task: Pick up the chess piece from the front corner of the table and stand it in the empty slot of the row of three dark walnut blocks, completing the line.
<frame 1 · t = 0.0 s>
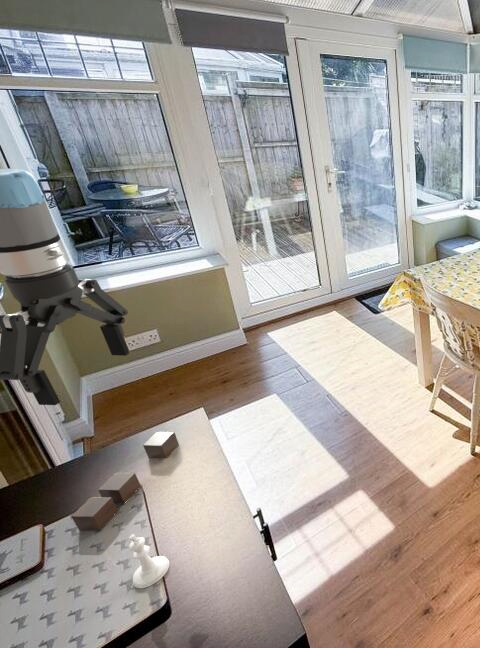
hand: (88, 377, 74), 29 cm above the table, tool pointing down, fingers open, 13 cm apart
chess piece: (152, 573, 72), on the table
walnut block 1: (99, 520, 79), on the table
walnut block 3: (164, 451, 95), on the table
walnut block 2: (123, 494, 84), on the table
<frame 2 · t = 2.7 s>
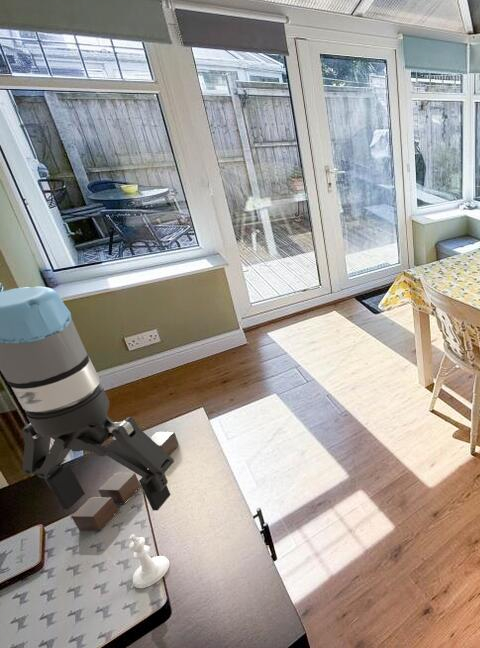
hand: (118, 502, 65), 17 cm above the table, tool pointing down, fingers open, 13 cm apart
nothing on the table moved.
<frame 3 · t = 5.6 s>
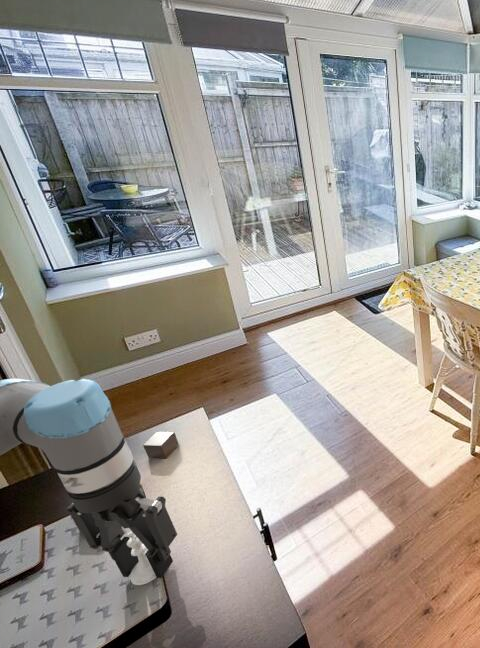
hand: (148, 568, 71), 1 cm above the table, tool pointing down, fingers closed on chess piece, 5 cm apart
chess piece: (149, 570, 71), on the table, touching gripper
everything else where it was.
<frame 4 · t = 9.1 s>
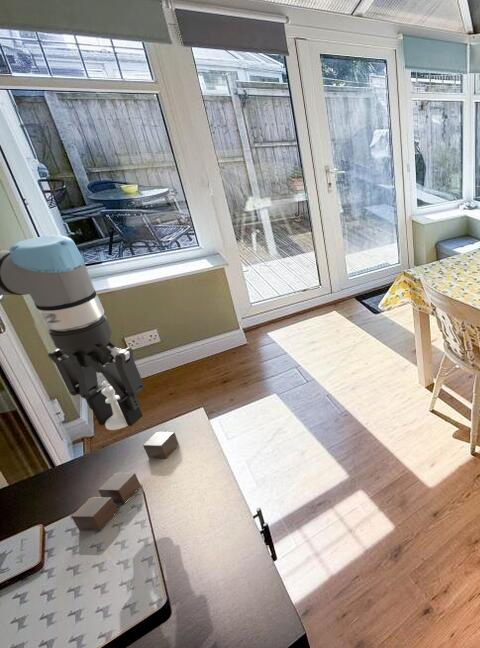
hand: (121, 420, 83), 15 cm above the table, tool pointing down, fingers closed on chess piece, 5 cm apart
chess piece: (122, 421, 83), point 15 cm above the table, touching gripper
everything else where it was.
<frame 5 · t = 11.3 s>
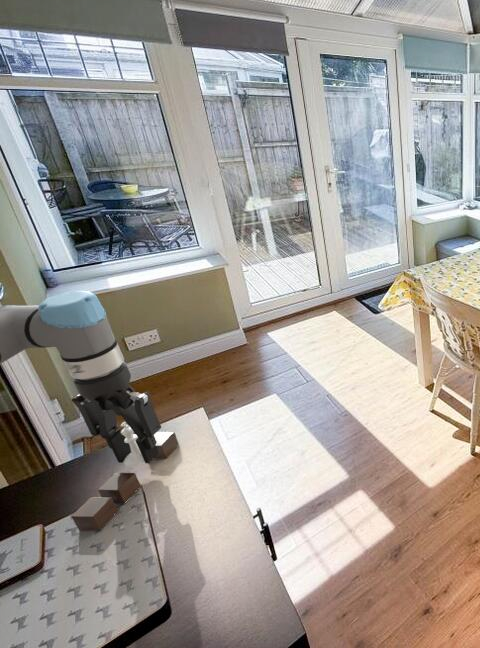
hand: (139, 457, 88), 4 cm above the table, tool pointing down, fingers closed on chess piece, 5 cm apart
chess piece: (139, 458, 88), point 4 cm above the table, touching gripper
everything else where it was.
when the fingers open (0 cm above the table, at t = 12.7 s): chess piece stays where it is, on the table.
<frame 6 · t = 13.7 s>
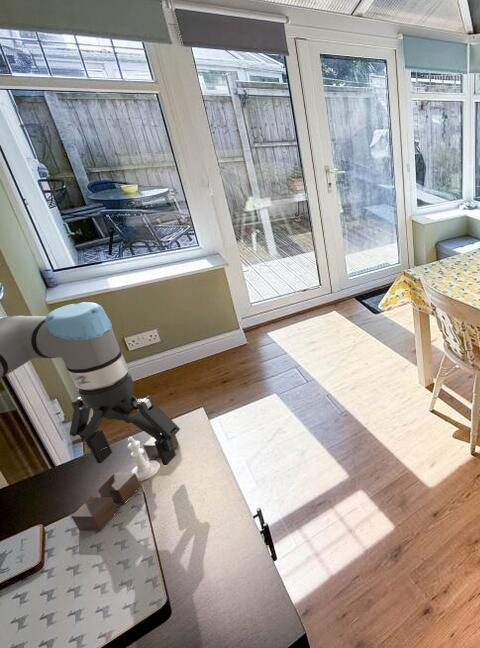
hand: (137, 459, 88), 4 cm above the table, tool pointing down, fingers open, 13 cm apart
chess piece: (145, 472, 90), on the table
everything else where it was.
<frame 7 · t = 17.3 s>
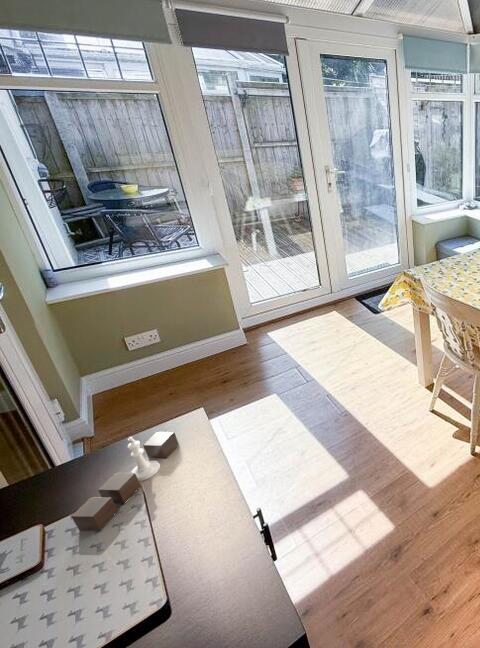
nothing on the table moved.
at the end: chess piece 0.1 cm from the target spot on the table beside the walnut block 3, on the table; chess piece tilted 0° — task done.
